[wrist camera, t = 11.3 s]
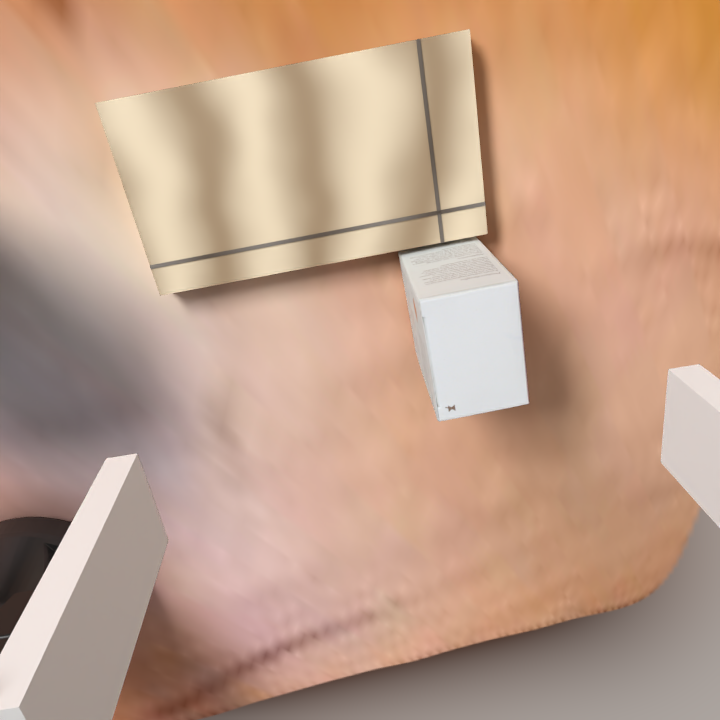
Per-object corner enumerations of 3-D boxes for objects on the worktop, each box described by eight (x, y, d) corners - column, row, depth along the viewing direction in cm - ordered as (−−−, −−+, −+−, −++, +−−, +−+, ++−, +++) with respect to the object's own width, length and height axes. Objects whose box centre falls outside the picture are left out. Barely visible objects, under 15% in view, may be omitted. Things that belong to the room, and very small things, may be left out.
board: (166, 287, 42) (160, 296, 41) (105, 101, 37) (94, 102, 36) (481, 227, 42) (487, 234, 40) (463, 30, 37) (470, 29, 35)
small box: (488, 337, 45) (532, 407, 36) (413, 352, 46) (438, 426, 36) (476, 232, 42) (521, 279, 32) (396, 248, 42) (417, 300, 33)
